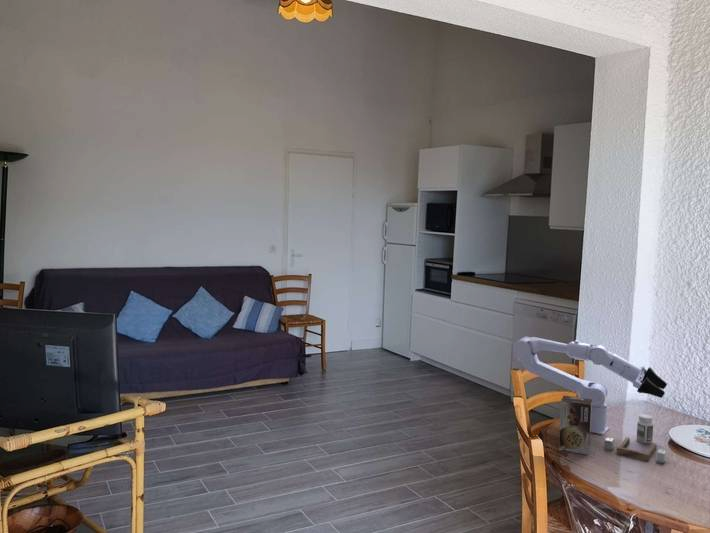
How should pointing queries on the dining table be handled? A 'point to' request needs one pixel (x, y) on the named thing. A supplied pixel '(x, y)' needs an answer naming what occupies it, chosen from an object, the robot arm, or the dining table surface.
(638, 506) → the dining table surface
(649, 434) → the pill bottle
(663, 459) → the white cubes brown bar
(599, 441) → the dining table surface
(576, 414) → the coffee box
